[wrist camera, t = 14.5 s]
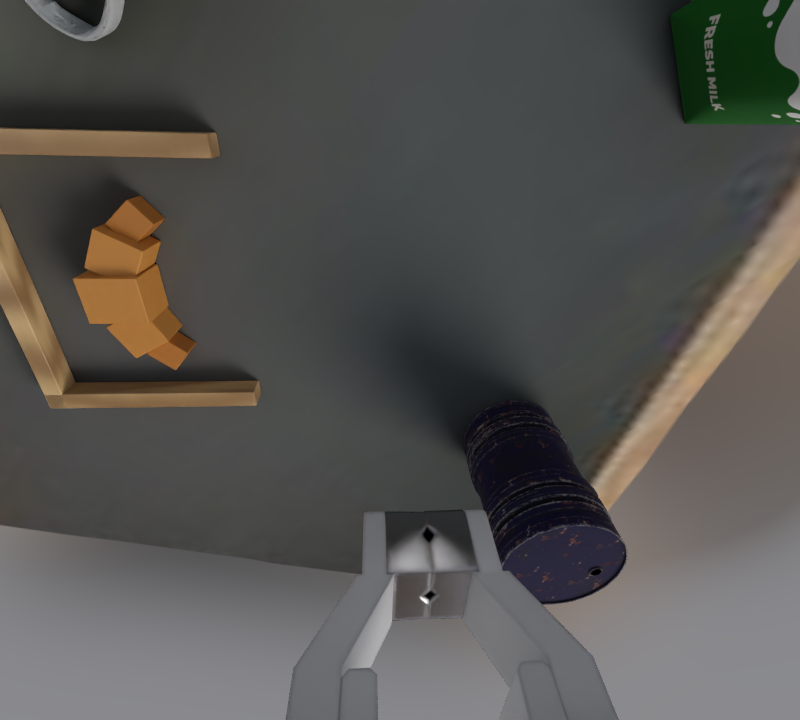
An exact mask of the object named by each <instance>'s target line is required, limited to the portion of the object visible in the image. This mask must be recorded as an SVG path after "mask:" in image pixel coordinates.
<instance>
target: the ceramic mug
mask: <svg viewBox="0 0 800 720" xmlns="http://www.w3.org/2000/svg"><path fill="white" fill-rule="evenodd" d="M24 1H25V2H26V3H27V4H28V5H29V6H30V7H31V8H32V9H33V11H34V12H35V13H36V14H38V15H39V16H40V17H41V18H42V19H43V20H45V21H46V22H48V23H49V24H50V25H51V26H52V27H54V28H55V29H57V30H59V31H61V32H62V33H64V34H66V35H68V36H70V37H73V38H75V39H78V40H81V41H95V40H98V39H100V38H102V37H104V36H106V35H108V34H110V33H111V32H112V31H114V30H115V29H116V27H117V26H118V25H119V23H120V20H121V17H122V13H123V7H124V0H105V6H104V9H103V15H102V18H101V21H100V23H99V25H98V26H96V27H93V26H91V25H90V24H87V23H86V22H84V21H82V20H81V19H79V18H77V17H76V16H74V15H72V14H70V13H69V12H67V11H66V10H64V9H63V8H61V7H60V6H59V5H58V4H57V3H56V2H55V1H53V0H24Z"/></svg>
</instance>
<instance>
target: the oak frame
mask: <svg viewBox="0 0 800 720" xmlns="http://www.w3.org/2000/svg"><path fill="white" fill-rule="evenodd" d="M0 154H20V155H69V156H118V157H167V158H214V157H218V156H220V152H219V146H218V140H217V135H216V132H182V131H140V130H99V129H57V128H15V127H0ZM0 304H1V306H2V308H3V310H4V313H5V315H6V317H7V319H8V321H9V323H10V325H11V327H12V329H13V331H14V333H15V335H16V337H17V339H18V341H19V343H20V346H21V348H22V350H23V352H24V354H25V356H26V358H27V360H28V362H29V364H30V366H31V368H32V370H33V372H34V374H35V376H36V379H37V381H38V383H39V385H40V387H41V389H42V391H43V393H44V395H45V397H46V399H47V401H48V403H49V405H50V407H51V408H114V407H190V406H256V405H257V402H258V400H259V397H260V395H261V390H260V384H259V381H168V382H75V380H74V377H73V375H72V373H71V370H70V368H69V366H68V363H67V361H66V359H65V356H64V354H63V352H62V349H61V347H60V345H59V342H58V340H57V338H56V336H55V333H54V331H53V329H52V326H51V324H50V322H49V319H48V317H47V315H46V312H45V310H44V308H43V305H42V303H41V301H40V298H39V296H38V294H37V291H36V289H35V287H34V285H33V282H32V280H31V278H30V275H29V273H28V271H27V268H26V266H25V264H24V261H23V259H22V257H21V254H20V252H19V250H18V247H17V245H16V243H15V241H14V238H13V236H12V234H11V231H10V229H9V227H8V224H7V222H6V220H5V217H4V215H3V213H2V210H1V208H0Z"/></svg>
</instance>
